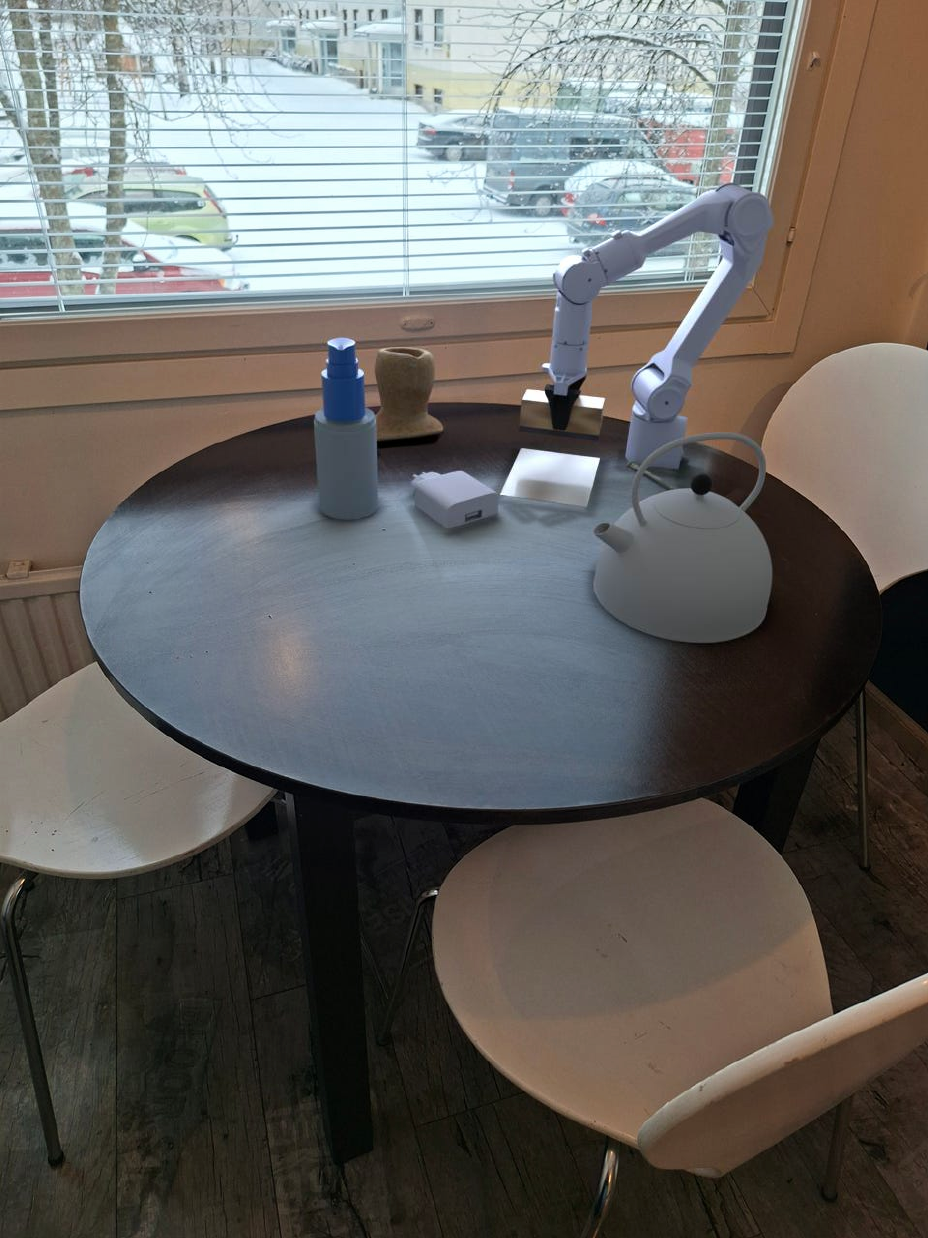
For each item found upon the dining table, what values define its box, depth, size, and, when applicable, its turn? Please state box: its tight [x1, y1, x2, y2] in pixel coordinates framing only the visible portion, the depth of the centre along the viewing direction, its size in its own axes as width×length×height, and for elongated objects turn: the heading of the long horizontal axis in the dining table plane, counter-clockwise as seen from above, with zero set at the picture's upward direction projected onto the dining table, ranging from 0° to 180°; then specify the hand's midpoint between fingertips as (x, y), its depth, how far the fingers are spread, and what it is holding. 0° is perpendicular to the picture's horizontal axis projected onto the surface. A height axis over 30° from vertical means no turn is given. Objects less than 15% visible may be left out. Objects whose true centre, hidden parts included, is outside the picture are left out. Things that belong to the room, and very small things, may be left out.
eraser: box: [518, 388, 606, 442], centre depth 143 cm, size 13×5×6 cm, turn 77°
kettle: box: [592, 431, 773, 644], centre depth 110 cm, size 25×23×22 cm
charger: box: [409, 470, 500, 530], centre depth 133 cm, size 5×9×15 cm
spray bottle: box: [313, 337, 379, 520], centre depth 126 cm, size 9×9×25 cm
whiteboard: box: [499, 447, 601, 508], centre depth 143 cm, size 15×20×1 cm
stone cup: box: [374, 346, 444, 442], centre depth 153 cm, size 15×12×15 cm
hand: (561, 422), depth 144 cm, fingers closed on eraser, 5 cm apart
